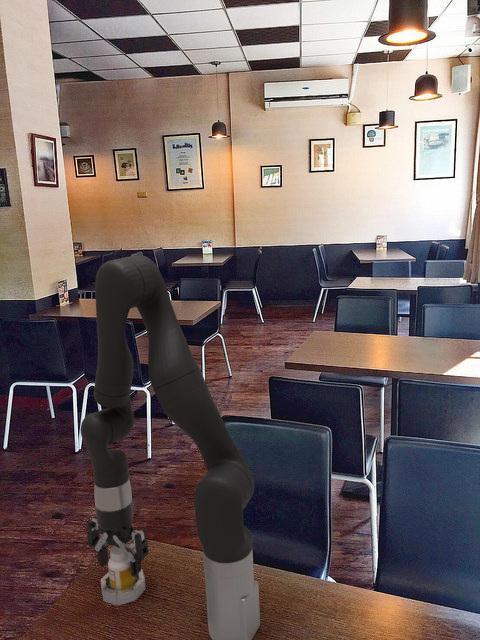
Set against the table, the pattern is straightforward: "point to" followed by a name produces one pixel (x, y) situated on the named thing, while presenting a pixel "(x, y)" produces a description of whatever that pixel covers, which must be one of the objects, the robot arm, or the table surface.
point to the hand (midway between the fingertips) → (119, 569)
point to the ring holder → (122, 595)
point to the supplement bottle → (120, 570)
